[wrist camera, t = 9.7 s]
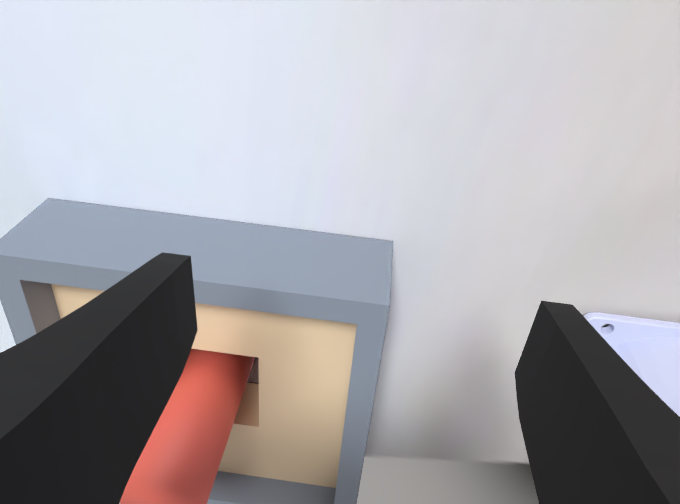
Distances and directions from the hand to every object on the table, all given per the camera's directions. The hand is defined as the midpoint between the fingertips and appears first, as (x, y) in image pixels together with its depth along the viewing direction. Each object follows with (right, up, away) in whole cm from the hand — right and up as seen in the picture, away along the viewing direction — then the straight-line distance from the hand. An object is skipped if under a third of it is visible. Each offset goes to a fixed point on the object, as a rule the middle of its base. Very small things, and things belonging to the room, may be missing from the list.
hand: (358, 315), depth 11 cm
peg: (-6, -3, +14) cm, 16 cm away
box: (-6, -3, +14) cm, 16 cm away
